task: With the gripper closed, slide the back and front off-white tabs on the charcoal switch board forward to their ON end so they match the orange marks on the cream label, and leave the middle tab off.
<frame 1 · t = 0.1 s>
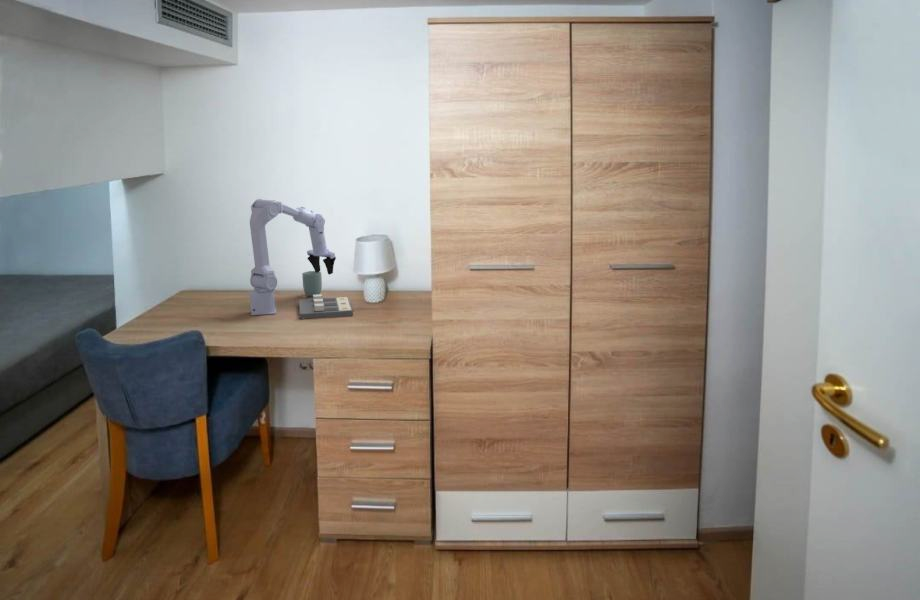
hand: (324, 272, 340), 11 cm above the table, tool pointing down, fingers open, 7 cm apart
switch board: (325, 309, 321), on the table
switch tab 2: (318, 302, 320), point 3 cm above the table, slide at -2.5 cm
cup: (313, 296, 345), on the table
switch tab 3: (317, 297, 327), point 3 cm above the table, slide at -2.5 cm
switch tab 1: (319, 307, 312), point 3 cm above the table, slide at -2.5 cm
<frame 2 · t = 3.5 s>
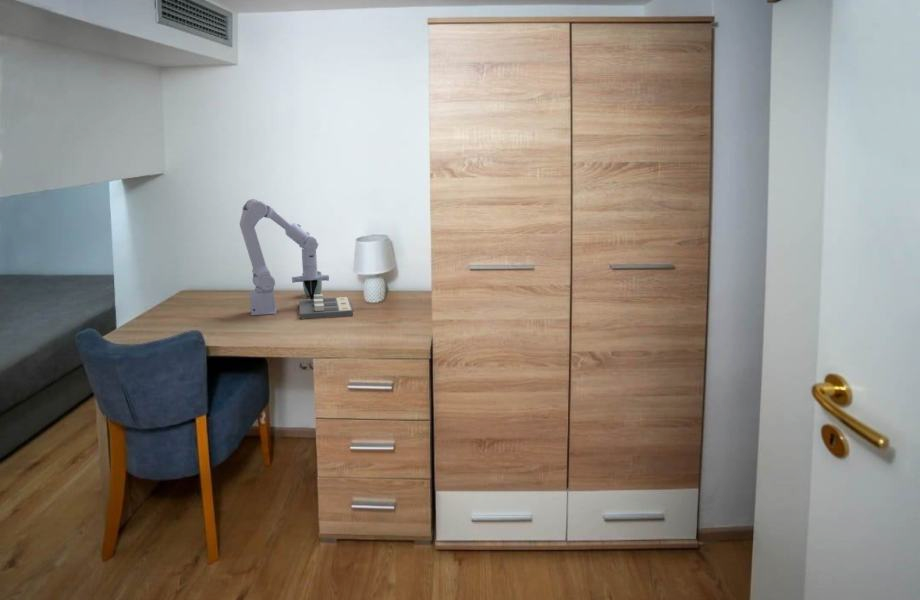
hand: (311, 298, 327), 3 cm above the table, tool pointing down, fingers closed
switch tab 3: (318, 297, 327), point 3 cm above the table, slide at -2.2 cm, touching gripper
everything else where it was.
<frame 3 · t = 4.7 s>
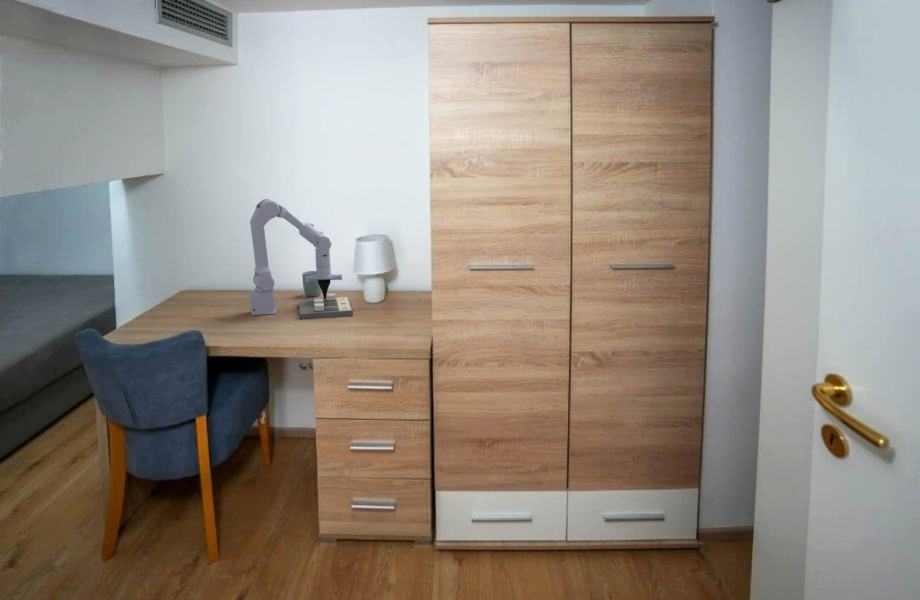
hand: (324, 298, 328), 3 cm above the table, tool pointing down, fingers closed
switch tab 3: (331, 297, 328), point 3 cm above the table, slide at 2.8 cm, touching gripper
everything else where it was.
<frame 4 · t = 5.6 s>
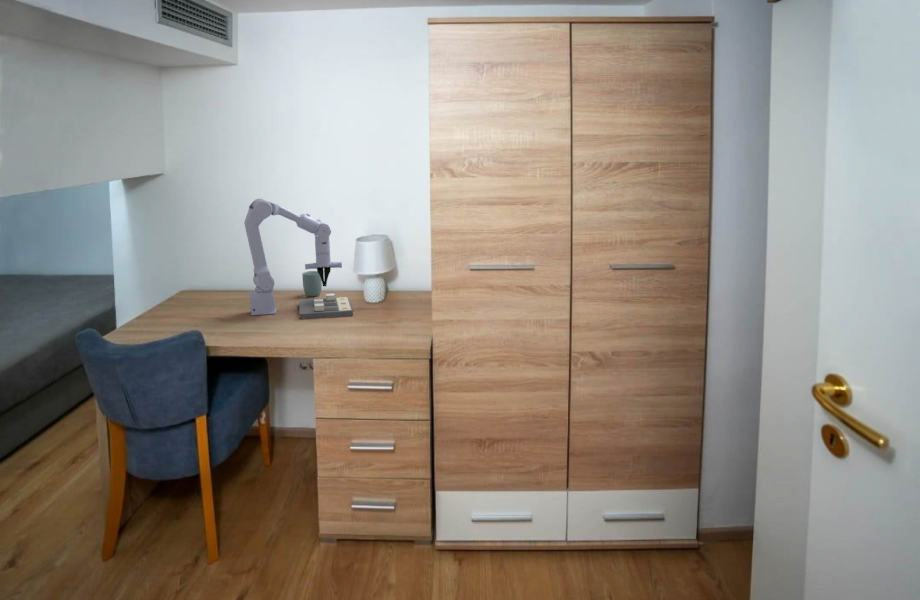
hand: (324, 285, 327), 8 cm above the table, tool pointing down, fingers closed
switch tab 3: (330, 297, 328), point 3 cm above the table, slide at 2.6 cm
everything else where it was.
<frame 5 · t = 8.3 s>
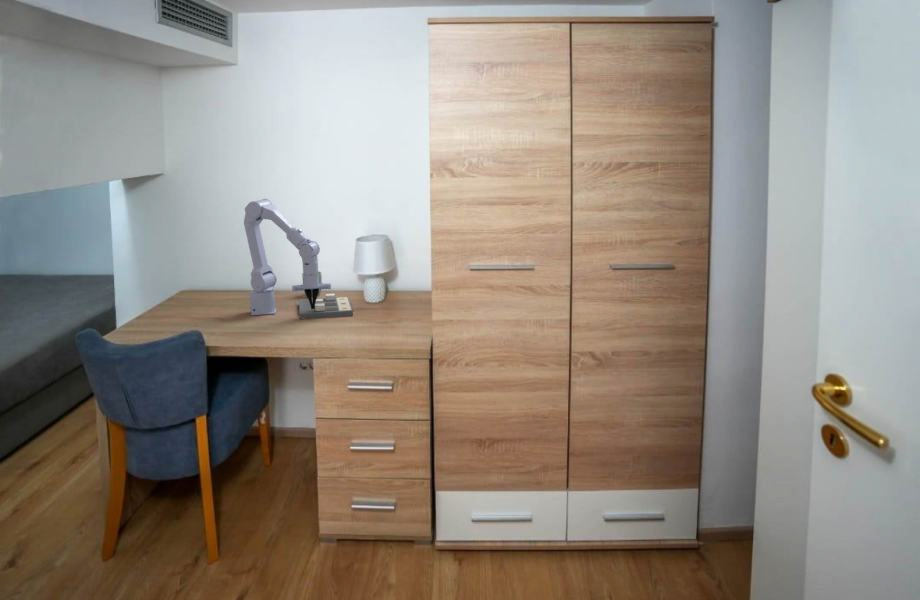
hand: (312, 308, 312), 3 cm above the table, tool pointing down, fingers closed
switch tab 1: (320, 307, 312), point 3 cm above the table, slide at -2.2 cm, touching gripper
everything else where it was.
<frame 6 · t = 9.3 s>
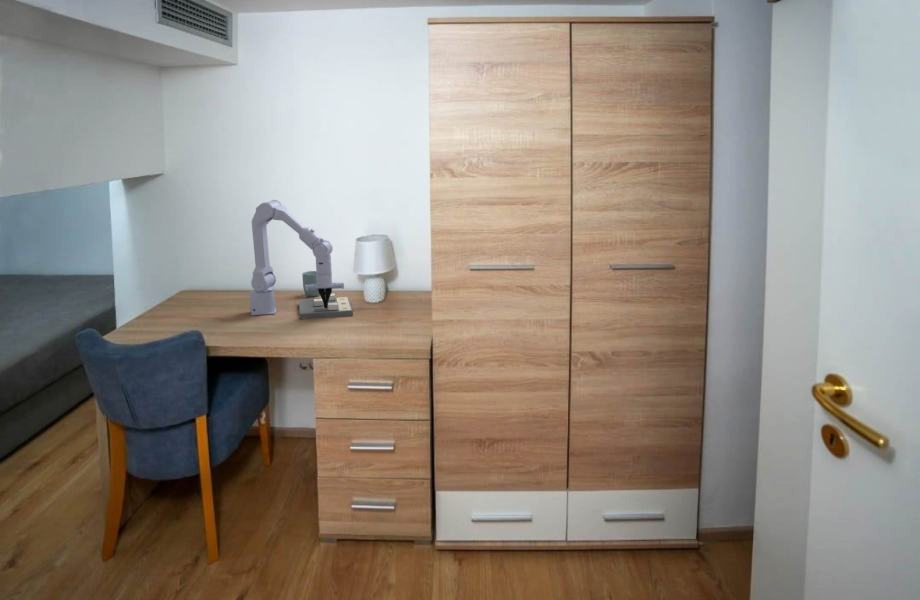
hand: (325, 307, 312), 3 cm above the table, tool pointing down, fingers closed
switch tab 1: (332, 306, 313), point 3 cm above the table, slide at 2.6 cm, touching gripper
everything else where it was.
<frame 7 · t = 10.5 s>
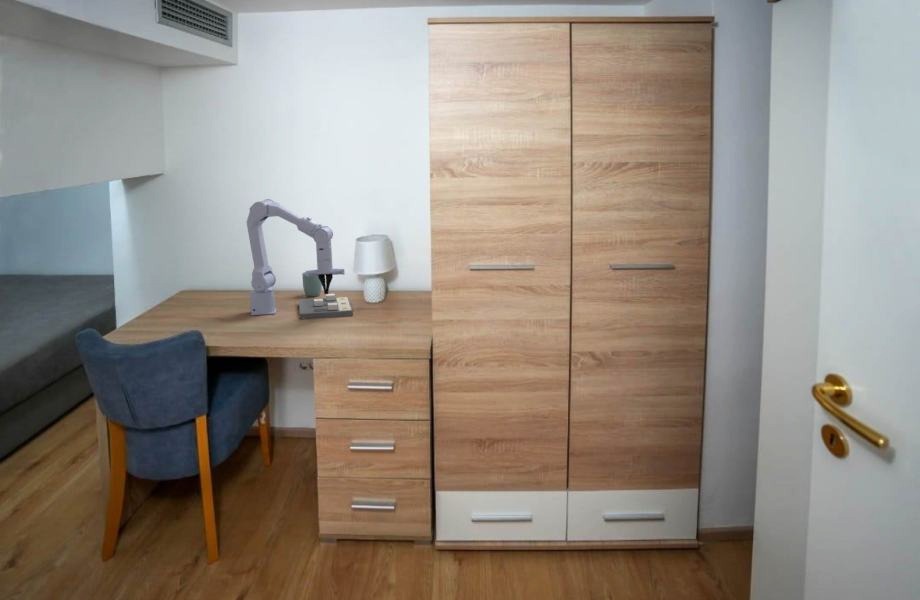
hand: (326, 293, 311), 8 cm above the table, tool pointing down, fingers closed
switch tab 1: (332, 306, 313), point 3 cm above the table, slide at 2.6 cm
everything else where it was.
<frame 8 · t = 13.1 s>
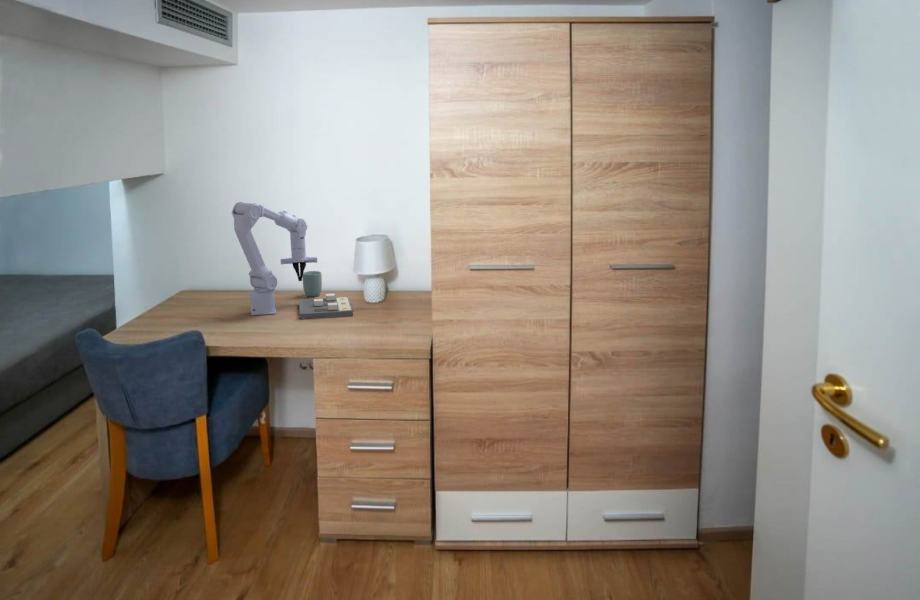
hand: (300, 280, 330), 9 cm above the table, tool pointing down, fingers closed
nothing on the table moved.
at the end: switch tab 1 slide at 2.6 cm; switch tab 3 slide at 2.6 cm; switch tab 2 slide at -2.5 cm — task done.
